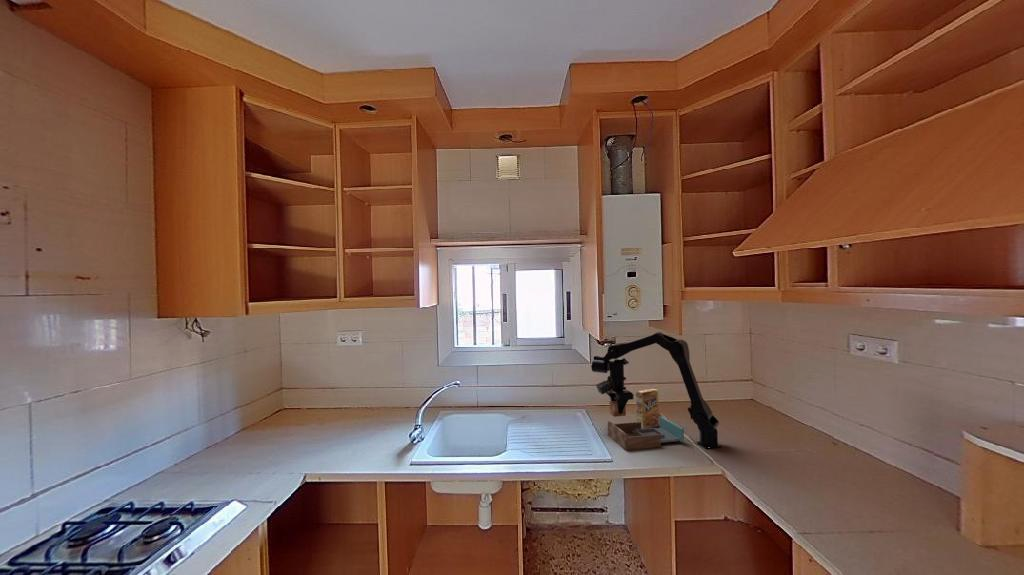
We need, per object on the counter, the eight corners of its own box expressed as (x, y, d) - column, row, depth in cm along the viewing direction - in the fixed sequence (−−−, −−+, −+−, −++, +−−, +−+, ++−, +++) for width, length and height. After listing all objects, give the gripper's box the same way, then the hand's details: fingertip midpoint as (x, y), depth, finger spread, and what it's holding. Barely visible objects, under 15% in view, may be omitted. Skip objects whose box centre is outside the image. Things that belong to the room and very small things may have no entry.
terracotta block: (625, 415, 190) (625, 403, 190) (614, 416, 189) (614, 404, 189) (620, 412, 195) (620, 400, 195) (609, 413, 194) (609, 401, 194)
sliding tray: (684, 441, 173) (683, 428, 173) (648, 445, 170) (648, 431, 170) (662, 428, 189) (662, 416, 188) (629, 431, 186) (629, 419, 186)
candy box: (643, 429, 191) (642, 392, 191) (636, 426, 195) (635, 390, 195) (659, 426, 195) (658, 389, 195) (652, 423, 199) (651, 387, 199)
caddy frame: (661, 446, 171) (661, 431, 171) (625, 450, 168) (625, 434, 168) (641, 432, 187) (641, 418, 187) (608, 436, 184) (607, 421, 184)
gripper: (590, 371, 199) (591, 407, 200) (607, 380, 181) (608, 420, 181) (614, 369, 201) (615, 405, 202) (633, 378, 183) (634, 417, 183)
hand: (617, 411), depth 192 cm, fingers closed on terracotta block, 5 cm apart
